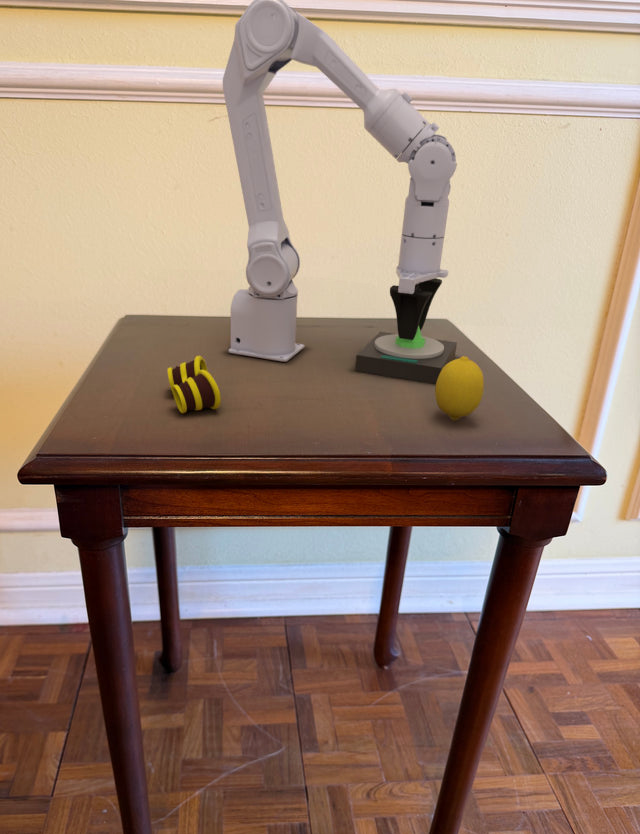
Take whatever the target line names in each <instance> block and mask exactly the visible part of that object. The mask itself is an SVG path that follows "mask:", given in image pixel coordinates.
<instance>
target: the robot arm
mask: <svg viewBox="0 0 640 834" xmlns="http://www.w3.org/2000/svg"><path fill="white" fill-rule="evenodd" d="M234 26H235V27H234V36H233V37H234V38H233V42H232V45H231V48H230V52H229V56H228V60H227V63H226V67H225V70H224V73H223V77H222V91H223V96H224V101H225V108H226V112H227V117H228V122H229V128H230V134H231V139H232V145H233V150H234V155H235V160H236V165H237V170H238V176H239V177H238V178H239V182H240V187H241V193H242V197H243V203H244V208H245V213H246V219H247V225H248V231H247V232H248V233H247V240H246V241H247V242H246V246H247V254H248V261H247V264H246V268H245V278H246V280H247V284H248V285H249V286H248V288H247V289H244V288H240V289H238V290H237V291H236V292H235V293H234V295H233V297H232V301H231V303H230V348H229V349H228V353H229V354H233V355H240V356H247V357H253V358H259V359H265V360H270V361H278V362H283V363H284V362H285V363H286V362H288V361H290V360H291V359H292V358H294V357H295V355H297V354H298V353H299V352H301V351H302V350H303V349H305V344H302V343H296V341H297V317H298V316H297V315H298V292H299V290H298V288H297V287H296V286H295V283H294V281H293V279H295V277H296V276H297V274H298V273H299V270H300V267H301V259H300V254H299V253H298V250H297V249H296V248H295V246H294V245H293V243H292V241H291V236H290V230H289V228H288V226H287V223H286V222H285V219H284V214H283V208H282V207H283V206H282V202H281V196H280V190H279V184H278V177H277V172H276V166H275V160H274V154H273V148H272V142H271V141H272V140H271V135H270V129H269V124H268V115H267V110H266V105H265V98H264V93H265V92H266V90H267V88H268V87H269V85H270V84H271V82H272V81H273V79H274V78H275V76H276V75H277V73H278V72H279V71H280V70H281V69H283V68H284V67H286V66H287V65H288V64H289V63H290V62H292V61H295V62H297V63H300V64H303V65H307V66H311V67H314V68H317V69H318V70H319V71H320V72H321V73H322V74H323V75H324V76H326V77H327V78H328V79H329V81H331V82H332V83H333V84H334V85H335V86H336V87H337V88H338V89H340V91H341V92H342V93H344V94H345V96H347V97H348V98H349V99H350V100H351V101H352V102H353V103H354V104H355V105H356V106H357V107H358V108H360V109H361V111H362V112H363V127H364V130H365V131H366V132H368V134H370V135H371V136H372V138H374V139H375V140H376V141H377V143H379V145H381V146H382V147H383V148H384V149H385V150H386V151H387V152H388V153H389V154H390V155H391V156H392V157H393V158H394V159H395V160H396V161H397V162H398V163H406V164H407V166H408V167H407V168H408V173H409V176H410V178H409V185H408V194H407V196H406V197H405V202H404V210H403V220H402V226H401V227H402V228H401V237H400V245H399V255H398V263H397V266H396V269H395V274H396V275H397V277H398V285H394V284H393V285H391V286H390V287H389V295H390V298H391V300H392V303H393V306H394V310H395V315H396V325H397V326H396V327H397V334H398V335H399V338H401V339H408V340H413V339H414V338H415V335H416V333H417V330H418V326H419V328H420V331H423V328H424V325H425V323H426V320H427V317H428V313H429V311H430V307H431V304H432V302H433V300H434V298H435V296H436V293H437V292H438V290H439V288H440V287H441V286H442V283H443V280H442V278H443V279H445V278H447V277H448V276H449V270H448V269H441V263H442V255H443V250H444V249H443V248H444V241H445V235H446V228H447V227H446V226H447V221H448V213H449V207H450V200H449V196H450V193H451V187H452V186H451V178H452V177H453V176H454V174H455V172H456V169H457V165H458V163H457V158H456V157H457V156H456V152H455V149H454V148H453V146H452V144H451V143H450V142H449V141H448V139H447V137H446V136H444V135H442V134H437V131H438V130H439V129H440V126H439V125H438V124H437V123H436V122H435V121H433V122H432V123H430V122H429V121H428V120H427V119H426V118H425V116H423V115H422V113H421V112H419V110H417V108H416V107H414V105H413V104H411V102H412V101H413V97H412V96H411V95H410V94H409V93H408V92H407V91H404V92H403V94H402V93H401V92H400V91H399V90H398V89H396V88H388V89H379V87H378V86H377V85H376V84H375V83H374V82H373V81H372V80H371V79H370V78H369V76H368V75H367V74H366V73H365V72H364V71H363V70H362V69H361V68H360V67H359V65H357V64H356V62H355V61H354V60H353V59H352V58H351V57H350V56H349V55H348V54H347V53H346V51H344V50H343V49H342V47H341V46H340V45H339V44H338V43H337V42H336V41H335V40H334V39H333V38H332V37H331V36H330V35H329V34H328V33H327V32H326V31H325V30H324V29H322V28H321V27H320V26H317V25H316V24H315V23H314V22H312V21H311V20H309V19H308V18H307V17H305V16H304V15H302V14H301V13H300V12H298V11H297V10H295V8H293V7H291V6H290V5H289V4H287V2H286V1H285V0H252V2H250V3H249V5H248V6H247V7H246V9H245V11H244V12H243V13H242V15H241V16H240V17H239V19H238V20H237V21H236V23H235V25H234ZM440 278H441V279H440Z"/></svg>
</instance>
